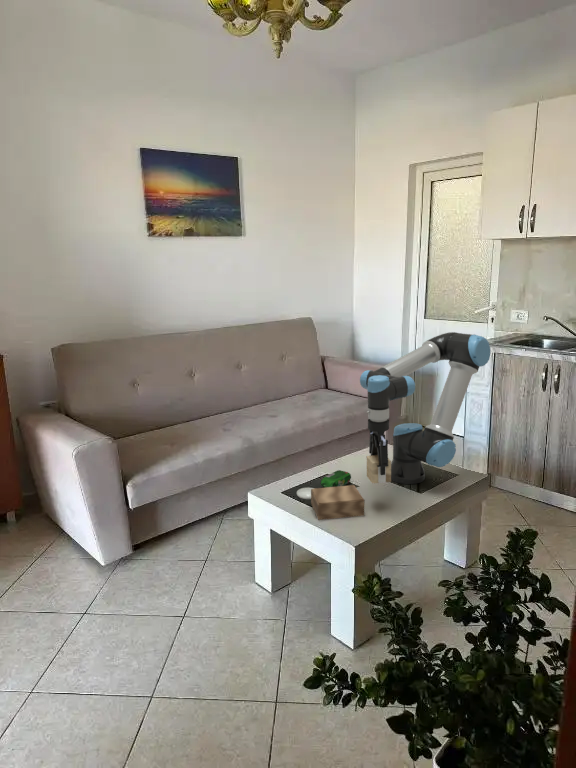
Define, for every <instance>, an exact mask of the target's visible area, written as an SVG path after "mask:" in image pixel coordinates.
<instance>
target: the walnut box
mask: <svg viewBox="0 0 576 768" xmlns="http://www.w3.org/2000/svg"><path fill="white" fill-rule="evenodd" d="M310 504H311V506H312V509H313V511H314V514H315V513H316V514H315V516H316V519H317V520H318V521H320V520H321V521H323V520H330V519H342V518H351V517H361V516H362V517H363V516H365V499H364V497H363V495H362V494H361V493H360V491H359V490H358V489H357V487H356V486H355V485H354V484H352V485H344V486H338V487H327V488H324V487H317V488H315V489H311V499H310Z"/></svg>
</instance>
